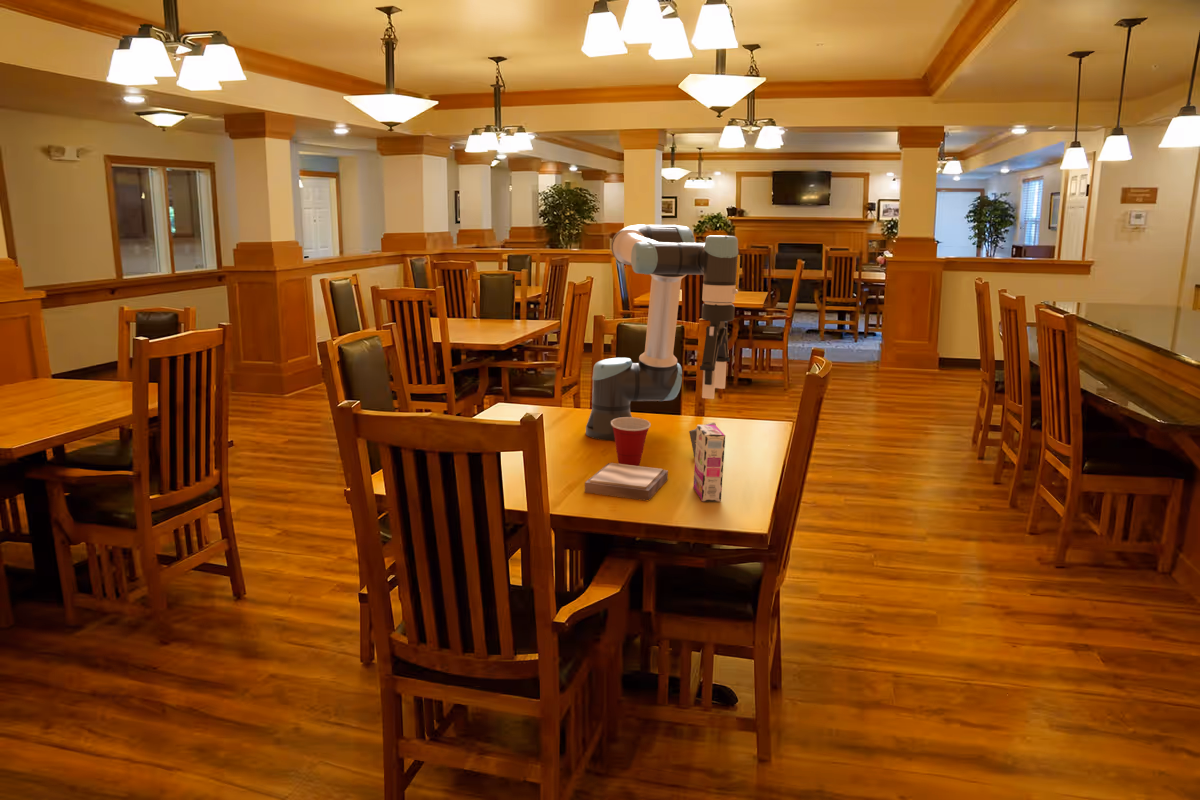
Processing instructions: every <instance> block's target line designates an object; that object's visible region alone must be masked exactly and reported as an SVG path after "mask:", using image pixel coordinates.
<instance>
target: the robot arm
mask: <svg viewBox="0 0 1200 800" xmlns="http://www.w3.org/2000/svg"><path fill="white" fill-rule="evenodd" d="M610 246H611V247H610V249H611V250H610V251H611V252H612V255H613V257H614V258H615V259H616V260H617V261H618V262H619V263H622V264H623V265H628V266H631V268H632V271H633V272H634V273H635V274H641V275H643V274H644V275H649V276H651V281H650V291H649V293H650V295H649V302H648V304H649V305H648V312H647V313H648V315H647V323H646V324H647V325H646V334H645V346H644V352H643V353H641V354H640V355H639V357H638V362H633V361H632V359H631V358H630V357H612V358H605V359H602V360H599V361H597V362H595V364H594V365H593V370H592V377H591V379H592V394H591V396H592V398H591V399H592V400H591V403H592V405H591V411H590V414H589V417H588V420H587V423H586V426H585V436H587V437H589V438H591V437H592V438H591V439H595V438H596V439H595V440H602V441H615V437H614V431H613V428H612V425H611V421H612V420H613V419H616V418H621V417H633V416H632V413H631V402H657V401H658V402H664V401H673V400H675V399H676V398H677V397H678V395H679V393H680V390H681V387H682V382H683V381H682V380H683V377H682V376H683V370H682V366H681V364H680V363H679V362H678V358H677V357H676V356H675V355H674V348H675V339H676V338H675V337H676V333H677V332H676V330H677V321H678V313H679V303H680V296H681V295H680V293H681V284H682V283H681V282H682V279H683V278H685V277H686V276H687V275H690V276H691V275H692V276H693V275H694V276H695V275H697V276H698V275H699V276H701V275H702V276H703V283H702V298H701V300H702V301H703V302H704V303H702V305H701V319H702V320H703V321H709V322H710V324H709V326H708V325H707V326H706V328H705V330H706V331H705V341H704V348H703V354H702V362H701V364H700V366H699V370H700V371H702V389H701V392H702V393H701V398H702V399H707V400H708V399H709V400H710V399H712V400H714V399H715V395H716V394H715V390H716V389H720V390H721V389H722V390H723V389H724V390H725V389H726V379H727V378H726V377H727V362H731V357H730V356H729V340H728V339H729V338H728V337H729V336H728V332H729V331H728V325H729V322H731V321H732V322H733V321H734V319H735V309H736V308H735V307H736V305H734V302H735V301H736V294H738V293H739V291H738V289H736V285H737V273H738V272H737V271H738V256H739V253H740V252H739V239H738V237H737V236H735V235H707V236H706V237H705V241H704V242H696V240H695V235H694V233H693V231H692V229H691V228H690V227H688V226H686V225H679V224H678V225H677V224H644V223H643V224H633V225H628V226H625V227H623V228H622V229H619V230H618V231H617V233H615V234H614V236H613V238H612V240H611V243H610Z"/></svg>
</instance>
